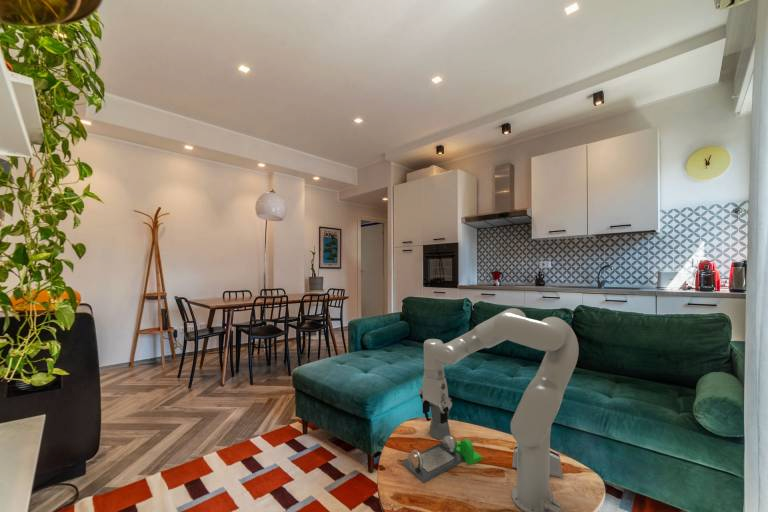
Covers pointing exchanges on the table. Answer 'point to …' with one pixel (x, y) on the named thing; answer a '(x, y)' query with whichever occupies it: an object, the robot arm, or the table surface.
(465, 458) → the mechanical part
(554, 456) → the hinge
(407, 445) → the table surface
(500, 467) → the table surface
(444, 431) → the coffeepot
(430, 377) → the robot arm
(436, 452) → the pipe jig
